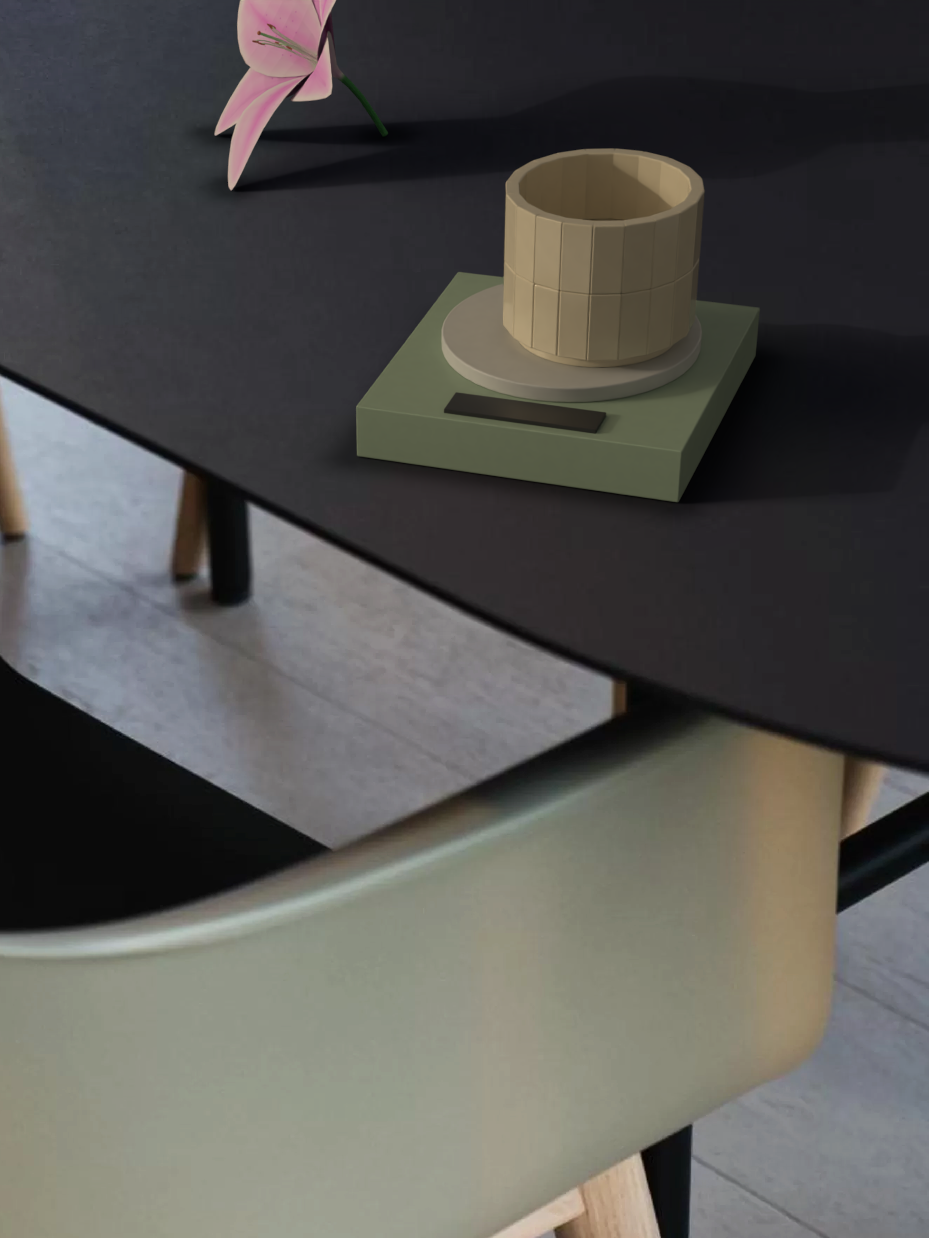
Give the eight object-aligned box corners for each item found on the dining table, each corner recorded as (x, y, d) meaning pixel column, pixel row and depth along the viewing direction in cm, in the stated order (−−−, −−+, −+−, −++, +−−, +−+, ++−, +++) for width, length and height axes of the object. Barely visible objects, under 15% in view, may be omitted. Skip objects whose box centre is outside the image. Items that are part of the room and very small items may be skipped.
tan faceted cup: (712, 302, 95) (724, 158, 91) (666, 384, 90) (676, 234, 86) (532, 281, 97) (537, 139, 93) (478, 359, 92) (480, 213, 88)
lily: (267, 103, 122) (165, -58, 115) (487, 21, 116) (393, -155, 109) (228, 277, 116) (118, 116, 109) (458, 198, 110) (357, 24, 103)
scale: (755, 356, 97) (761, 291, 95) (678, 503, 89) (683, 435, 87) (457, 318, 101) (458, 256, 99) (356, 456, 92) (355, 390, 91)
